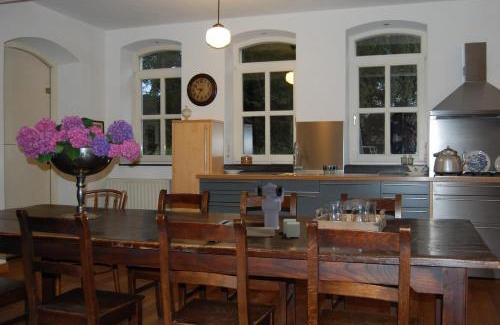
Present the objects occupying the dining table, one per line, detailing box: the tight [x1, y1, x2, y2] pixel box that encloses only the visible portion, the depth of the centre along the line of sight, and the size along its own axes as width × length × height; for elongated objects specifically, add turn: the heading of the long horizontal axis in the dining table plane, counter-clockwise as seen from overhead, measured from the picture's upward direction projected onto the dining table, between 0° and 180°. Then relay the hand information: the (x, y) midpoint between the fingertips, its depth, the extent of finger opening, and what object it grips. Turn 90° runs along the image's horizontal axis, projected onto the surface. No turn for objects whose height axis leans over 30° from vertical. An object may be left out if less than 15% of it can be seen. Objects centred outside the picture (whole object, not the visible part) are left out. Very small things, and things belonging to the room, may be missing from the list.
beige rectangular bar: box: [245, 226, 276, 237], centre depth 235 cm, size 4×14×4 cm, turn 83°
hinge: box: [217, 219, 234, 225], centre depth 224 cm, size 17×5×10 cm, turn 157°
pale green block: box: [282, 218, 297, 235], centre depth 243 cm, size 8×6×6 cm
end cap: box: [286, 221, 301, 238], centre depth 233 cm, size 8×6×6 cm
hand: (268, 190), depth 236 cm, fingers open, 7 cm apart
